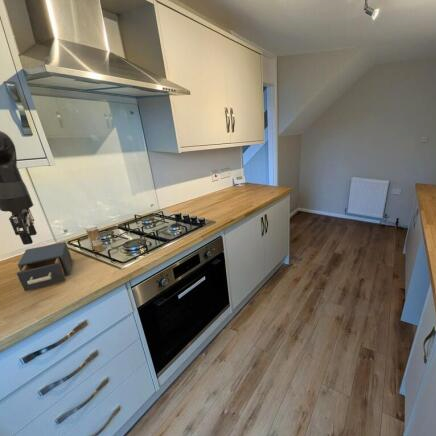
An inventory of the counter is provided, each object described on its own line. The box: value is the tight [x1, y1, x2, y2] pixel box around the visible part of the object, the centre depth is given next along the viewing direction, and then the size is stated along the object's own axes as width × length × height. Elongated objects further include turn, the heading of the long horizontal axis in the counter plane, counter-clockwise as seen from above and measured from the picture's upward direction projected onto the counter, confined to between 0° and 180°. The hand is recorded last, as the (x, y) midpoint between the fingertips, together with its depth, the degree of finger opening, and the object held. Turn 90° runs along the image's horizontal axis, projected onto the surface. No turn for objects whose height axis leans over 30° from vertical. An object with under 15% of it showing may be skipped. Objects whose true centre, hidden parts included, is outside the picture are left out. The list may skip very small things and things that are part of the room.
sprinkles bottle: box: [84, 224, 104, 253], centre depth 118 cm, size 5×5×13 cm
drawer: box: [16, 257, 67, 292], centre depth 94 cm, size 18×11×8 cm, turn 37°
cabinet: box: [17, 241, 73, 277], centre depth 100 cm, size 15×13×10 cm
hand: (30, 239), depth 83 cm, fingers open, 8 cm apart
